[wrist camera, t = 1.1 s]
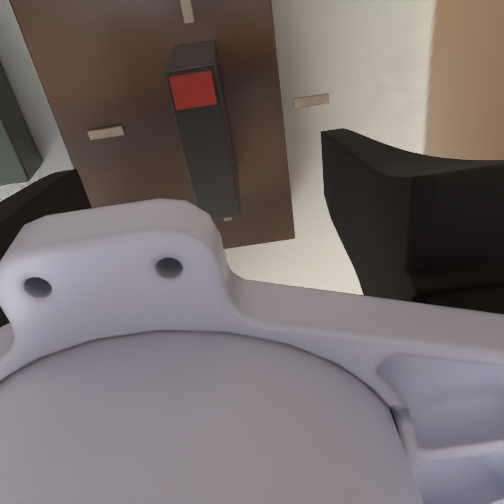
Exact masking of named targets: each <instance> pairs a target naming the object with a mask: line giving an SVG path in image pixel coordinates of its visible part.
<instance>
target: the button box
mask: <svg viewBox="0 0 504 504" xmlns="http://www.w3.org/2000/svg"><path fill="white" fill-rule="evenodd" d="M41 165H42V160H41V158H40V156H39V153H38V151H37V149H36V146H35V144H34V142H33V139H32V137H31V135H30V132H29V130H28V128H27V125H26V123H25V120H24V118H23V116H22V113H21V111H20V109H19V106H18V104H17V102H16V99H15V97H14V95H13V92H12V90H11V88H10V85H9V83H8V81H7V78H6V76H5V73H4V71H3V69H2V66H1V64H0V185H7V184H13V183H20V182H26V181H30V179H31V178H32V177H33V175H34V174H35V173H36V171H37V170H38V169H39V167H40V166H41Z"/></svg>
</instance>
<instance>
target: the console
mask: <svg viewBox="0 0 504 504" xmlns="http://www.w3.org/2000/svg"><path fill="white" fill-rule="evenodd" d="M9 1H10V4H11V6H12V9H13V11H14V14H15V17H16V19H17V22H18V24H19V27H20V30H21V32H22V35H23V37H24V40H25V42H26V45H27V48H28V50H29V53H30V55H31V58H32V61H33V63H34V66H35V68H36V71H37V74H38V76H39V79H40V81H41V84H42V86H43V89H44V92H45V94H46V97H47V99H48V102H49V105H50V107H51V110H52V112H53V115H54V118H55V120H56V123H57V125H58V128H59V130H60V133H61V136H62V138H63V141H64V143H65V146H66V149H67V151H68V154H69V156H70V159H71V162H72V164H73V167H74V169H77V170H78V173H79V176H80V178H81V181H82V183H83V186H84V189H85V191H86V194H87V196H88V199H89V202H90V204H91V207H92V208H99V207H105V206H112V205H118V204H125V203H132V202H138V201H145V200H152V199H158V198H161V199H173V200H185V201H188V202H190V203H191V204H193V205H195V202H194V197H193V193H192V189H191V185H190V180H189V176H188V172H187V168H186V164H185V159H184V155H183V151H182V147H181V142H180V138H179V134H178V130H177V125H176V121H175V117H174V113H173V108H172V104H171V100H170V96H169V91H168V87H167V83H166V79H165V74H164V70H165V67H166V64H167V62H168V59H169V57H170V54H171V51H172V49H173V47H177V46H183V45H190V44H196V43H202V42H208V41H215V42H216V47H217V53H218V59H219V65H220V71H221V77H222V83H223V89H224V95H225V101H226V107H227V113H228V119H229V124H230V130H231V136H232V142H233V148H234V154H235V160H236V166H237V172H238V181H239V193H240V205H241V216H236V217H229V218H223V219H216V220H213V222H214V224H215V226H216V227H217V229H218V231H219V233H220V235H221V240H222V245H223V249H227V248H234V247H240V246H247V245H254V244H261V243H267V242H274V241H281V240H288V239H294V238H295V231H294V221H293V211H292V201H291V191H290V181H289V171H288V161H287V151H286V141H285V131H284V121H283V111H282V101H281V91H280V81H279V71H278V61H277V51H276V41H275V31H274V21H273V11H272V1H271V0H9ZM326 103H329V94H328V93H325V94H319V95H313V96H306V97H300V98H293V105H294V108H300V107H307V106H313V105H320V104H326Z"/></svg>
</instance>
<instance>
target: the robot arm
mask: <svg viewBox="0 0 504 504" xmlns="http://www.w3.org/2000/svg"><path fill="white" fill-rule="evenodd" d="M321 143H322V162H323V181H324V195H325V199H326V203H327V206H328V210H329V213H330V217H331V219H332V222H333V224H334V226H335V228H336V230H337V233H338V235H339V237H340V239H341V241H342V243H343V245H344V247H345V250H346V252H347V254H348V256H349V258H350V260H351V262H352V264H353V266H354V269H355V271H356V274H357V276H358V279H359V282H360V285H361V288H362V291H363V294H364V296H363V295H356V294H349V293H341V292H334V291H326V290H319V289H312V288H304V287H297V286H289V285H282V284H274V283H267V282H260V281H252V280H245V279H243V278H241V277H239V276H238V275H236V274H234V273H233V272H232V270H231V269H230V268H229V266H228V263H227V261H226V258H225V254H224V249H223V245H222V240H221V235H220V233H219V231H218V229H217V227H216V226H215V224H214V222H213V220H212V218H211V217H210V215H209V214H208V213H206V212H205V211H203V210H201V209H200V208H198V207H196V206H195V205H193V204H191V203H190V202H188V201H185V200H173V199H161V198H158V199H152V200H145V201H138V202H132V203H125V204H118V205H112V206H105V207H99V208H92V207H91V204H90V202H89V199H88V196H87V194H86V191H85V189H84V186H83V183H82V181H81V178H80V176H79V173H78V170H77V169H74V170H68V171H61V172H56V173H53V174H50V175H48V176H45V177H43V178H41V179H39V180H38V181H36V182H34V183H32V184H30V185H29V186H27V187H25V188H24V189H22V190H20V191H18V192H17V193H15V194H13V195H12V196H10V197H8V198H6V199H5V200H3V201H1V202H0V504H504V160H460V159H449V158H440V157H433V156H427V155H422V154H418V153H413V152H409V151H405V150H402V149H398V148H395V147H392V146H389V145H386V144H383V143H381V142H378V141H375V140H373V139H370V138H368V137H365V136H363V135H361V134H358V133H356V132H353V131H351V130H348V129H343V128H341V129H335V130H328V131H322V132H321Z"/></svg>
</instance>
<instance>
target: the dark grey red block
mask: <svg viewBox="0 0 504 504" xmlns="http://www.w3.org/2000/svg"><path fill="white" fill-rule="evenodd" d="M164 74H165V79H166V83H167V87H168V91H169V96H170V100H171V104H172V108H173V113H174V117H175V121H176V125H177V130H178V134H179V138H180V142H181V147H182V151H183V155H184V159H185V164H186V168H187V172H188V176H189V180H190V185H191V189H192V193H193V197H194V202H195V206H196V207H198V208H200V209H201V210H203V211H205V212H206V213H208V214H209V215H210V217H211V218H212V220H216V219H223V218H229V217H236V216H241V205H240V193H239V181H238V172H237V166H236V160H235V154H234V148H233V142H232V136H231V130H230V124H229V119H228V113H227V107H226V101H225V95H224V89H223V83H222V77H221V71H220V65H219V59H218V53H217V47H216V42H215V41H208V42H202V43H196V44H190V45H183V46H177V47H173V49H172V51H171V54H170V57H169V59H168V62H167V64H166V67H165V70H164Z"/></svg>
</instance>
